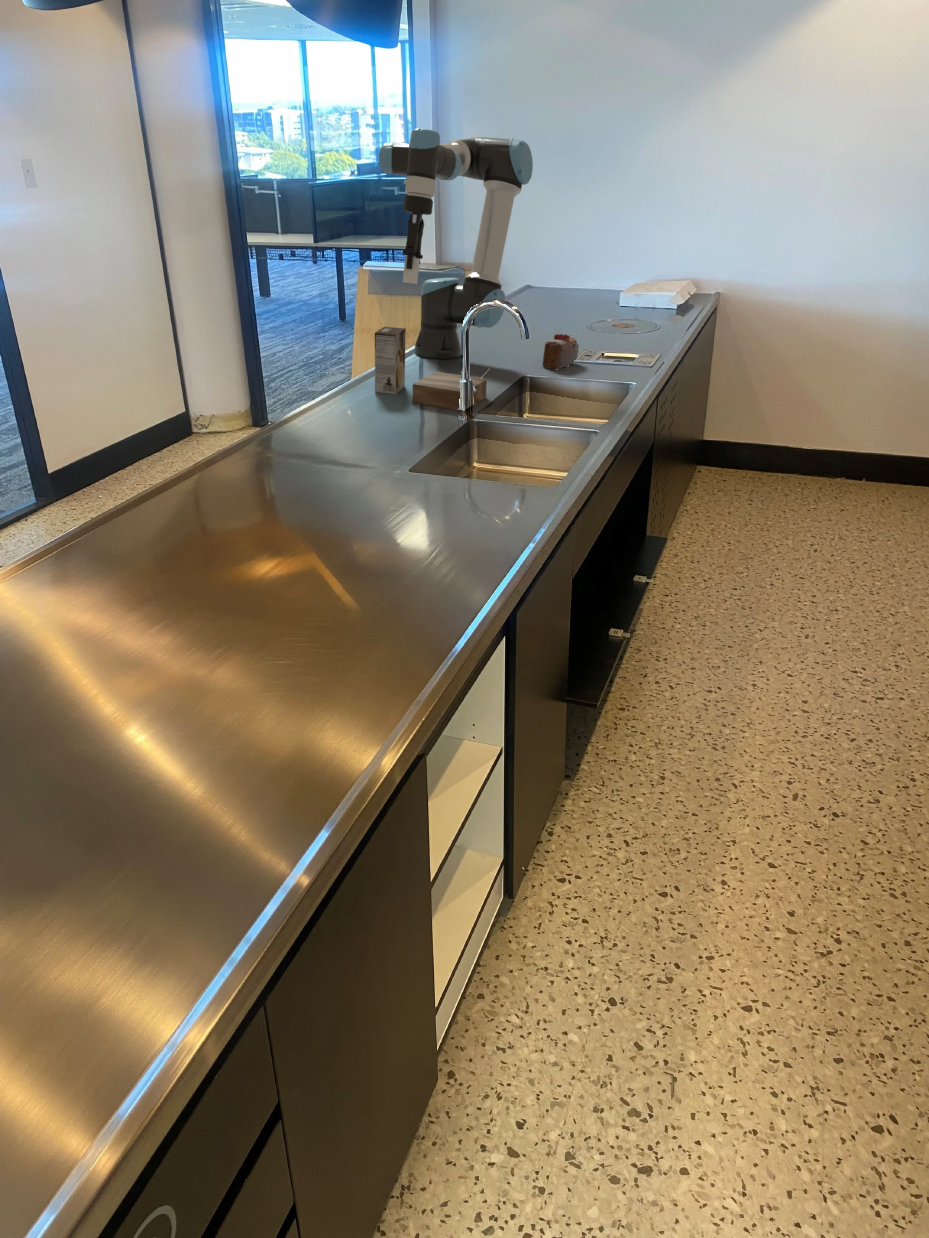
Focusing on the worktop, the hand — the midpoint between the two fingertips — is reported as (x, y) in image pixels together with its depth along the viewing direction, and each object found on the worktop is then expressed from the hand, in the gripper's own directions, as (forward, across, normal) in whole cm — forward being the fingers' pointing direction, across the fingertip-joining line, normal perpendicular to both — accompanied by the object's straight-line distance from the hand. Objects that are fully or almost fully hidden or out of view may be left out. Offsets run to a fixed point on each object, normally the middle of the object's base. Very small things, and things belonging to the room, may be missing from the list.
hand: (410, 283), depth 237 cm
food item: (+19, -41, +47) cm, 65 cm away
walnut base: (+28, +8, +15) cm, 33 cm away
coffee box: (+28, +1, -2) cm, 29 cm away
